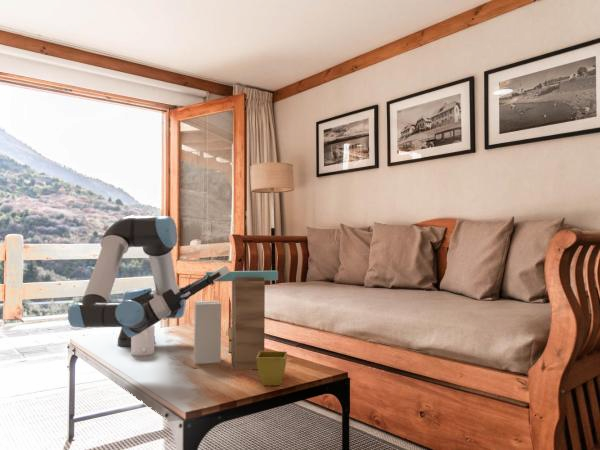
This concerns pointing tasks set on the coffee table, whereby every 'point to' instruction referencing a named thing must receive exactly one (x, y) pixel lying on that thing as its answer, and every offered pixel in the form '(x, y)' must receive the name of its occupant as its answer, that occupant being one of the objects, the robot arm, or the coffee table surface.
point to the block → (247, 275)
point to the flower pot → (271, 367)
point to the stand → (247, 322)
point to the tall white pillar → (207, 332)
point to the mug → (143, 342)
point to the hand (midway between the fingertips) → (227, 268)
